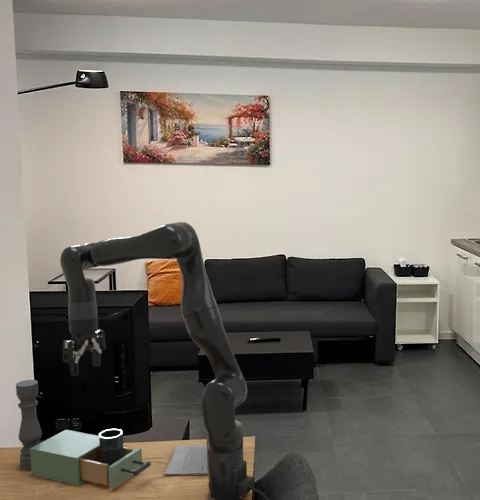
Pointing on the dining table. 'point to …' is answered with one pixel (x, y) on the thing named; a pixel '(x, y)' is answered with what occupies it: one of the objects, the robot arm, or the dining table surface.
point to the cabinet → (62, 456)
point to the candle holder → (28, 420)
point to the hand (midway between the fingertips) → (85, 370)
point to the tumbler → (111, 446)
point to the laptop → (189, 460)
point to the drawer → (112, 467)
